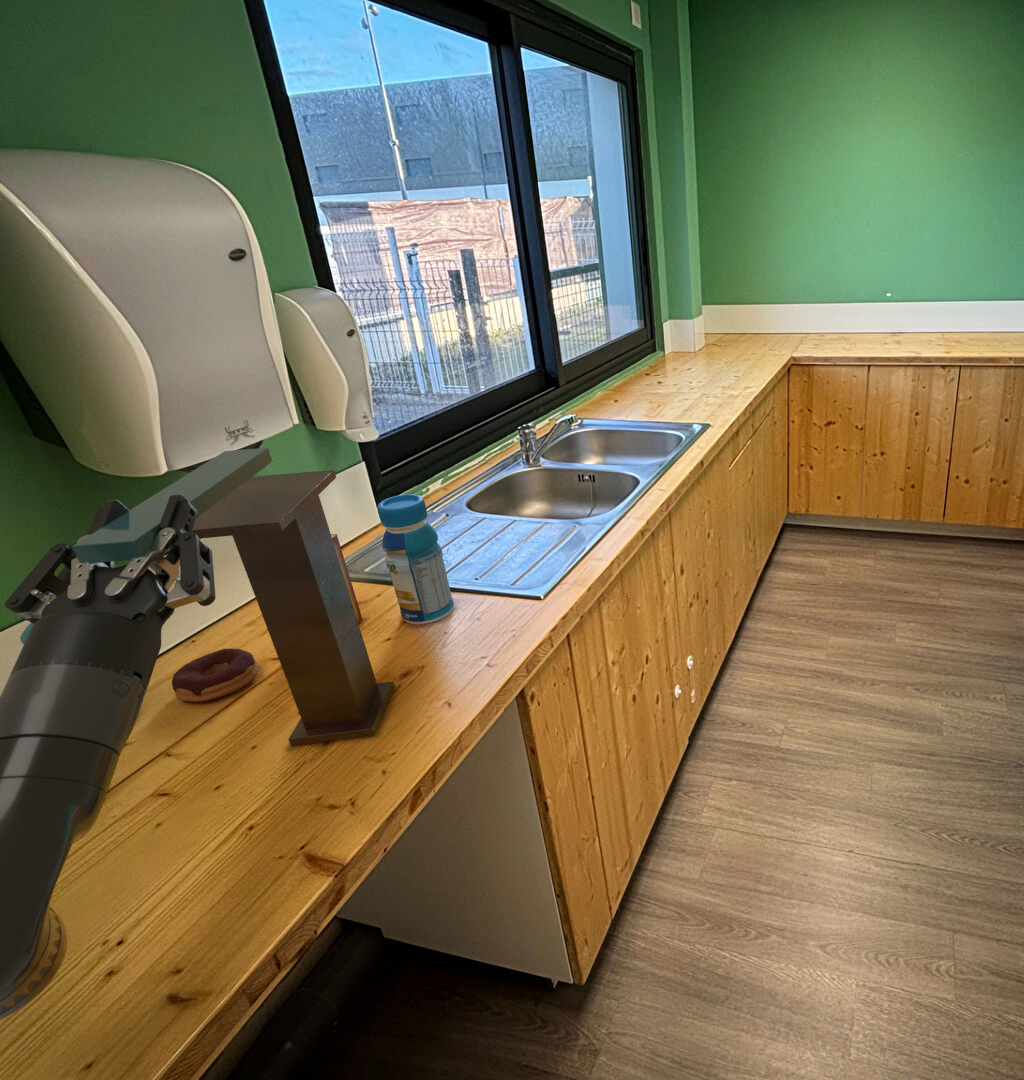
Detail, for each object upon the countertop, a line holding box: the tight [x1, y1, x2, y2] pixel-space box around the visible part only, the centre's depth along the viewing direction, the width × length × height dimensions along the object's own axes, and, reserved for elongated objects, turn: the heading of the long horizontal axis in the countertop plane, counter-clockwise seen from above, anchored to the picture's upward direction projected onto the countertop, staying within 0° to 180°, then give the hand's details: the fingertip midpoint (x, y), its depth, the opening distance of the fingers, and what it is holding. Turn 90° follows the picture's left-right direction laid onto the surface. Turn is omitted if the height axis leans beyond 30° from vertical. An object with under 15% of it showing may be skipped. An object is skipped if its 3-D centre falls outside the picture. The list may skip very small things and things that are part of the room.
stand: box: [192, 469, 396, 747], centre depth 84 cm, size 16×10×32 cm, turn 8°
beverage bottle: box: [377, 493, 455, 625], centre depth 112 cm, size 8×8×20 cm
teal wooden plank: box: [72, 447, 273, 564], centre depth 65 cm, size 24×4×2 cm, turn 9°
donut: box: [171, 648, 260, 703], centre depth 99 cm, size 10×10×4 cm
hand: (151, 504), depth 59 cm, fingers closed on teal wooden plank, 4 cm apart
